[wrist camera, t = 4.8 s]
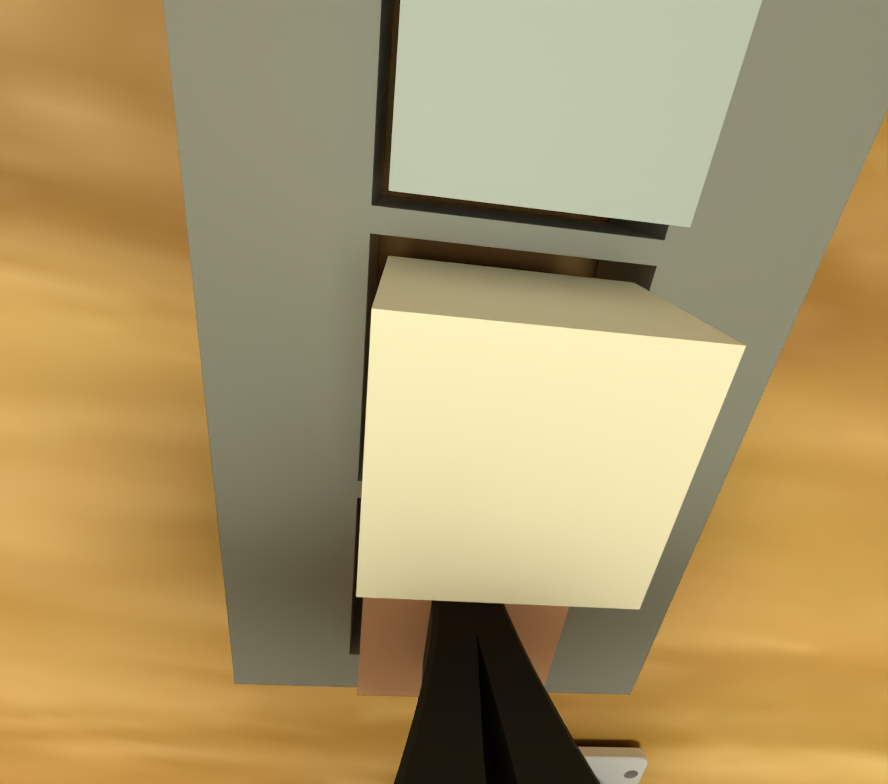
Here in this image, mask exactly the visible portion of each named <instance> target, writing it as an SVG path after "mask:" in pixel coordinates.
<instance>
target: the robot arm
mask: <svg viewBox="0 0 888 784" xmlns="http://www.w3.org/2000/svg"><path fill="white" fill-rule="evenodd" d="M647 765H648V761H647V759H646V756H645V753H644V752H643V750H641V749H639V748H634V747H578V746H577V744H576V743H575V741H574V739H573V738H572V736H571V734H570V732H569V731H568V729H567V727H566V726H565V724H564V722H563V720H562V718H561V717H560V715H559V713H558V711H557V709H556V708H555V706H554V704H553V702H552V700H551V699H550V697H549V695H548V693H547V691H546V690H545V688H544V686H543V684H542V682H541V680H540V678H539V676H538V675H537V673H536V671H535V669H534V667H533V665H532V663H531V661H530V659H529V657H528V655H527V653H526V651H525V649H524V647H523V645H522V643H521V640H520V638H519V636H518V634H517V632H516V630H515V628H514V625H513V623H512V621H511V619H510V616H509V614H508V612H507V609H506V607H505V605H504V603H481V602H459V601H436V600H432V603H431V609H430V616H429V623H428V630H427V637H426V644H425V650H424V657H423V669H422V685H421V689H420V694H419V698H418V702H417V707H416V710H415V714H414V718H413V721H412V725H411V728H410V732H409V735H408V739H407V742H406V746H405V749H404V752H403V756H402V759H401V763H400V766H399V769H398V772H397V776H396V779H395V782H394V784H638V783H639V781H640V779H641V777H642V775H643V773H644V771H645V769H646V767H647Z"/></svg>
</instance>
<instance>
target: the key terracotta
mask: <svg viewBox="0 0 888 784" xmlns="http://www.w3.org/2000/svg"><path fill="white" fill-rule="evenodd" d="M431 603H432V600H413V599H391V598H368V597H363V608H362V624H361V640H360V656H359V672H358V688H357V695H373V696H412V697H419V694H420V689H421V685H422V669H423V657H424V650H425V644H426V637H427V630H428V623H429V616H430V609H431ZM504 605H505V607H506V609H507V612H508V614H509V616H510V619H511V621H512V623H513V625H514V628H515V630H516V632H517V634H518V636H519V638H520V640H521V643H522V645H523V647H524V649H525V651H526V653H527V655H528V657H529V659H530V661H531V663H532V665H533V667H534V669H535V671H536V673H537V675H538V676H539V678H540V680H541V682H542V684H543V686H544V685H545V682H546V679H547V676H548V672H549V669H550V666H551V663H552V660H553V657H554V654H555V650H556V647H557V644H558V641H559V638H560V635H561V631H562V628H563V625H564V622H565V619H566V616H567V613H568V609H569V606H549V605H527V604H504Z"/></svg>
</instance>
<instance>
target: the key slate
mask: <svg viewBox="0 0 888 784" xmlns="http://www.w3.org/2000/svg"><path fill="white" fill-rule="evenodd" d="M761 3H762V0H400V15H399V31H398V47H397V63H396V79H395V95H394V111H393V127H392V143H391V159H390V175H389V191H396V192H404V193H412V194H420V195H429V196H437V197H445V198H453V199H461V200H470V201H478V202H486V203H494V204H502V205H510V206H519V207H527V208H535V209H543V210H551V211H559V212H568V213H576V214H584V215H592V216H600V217H608V218H617V219H625V220H633V221H641V222H649V223H657V224H666V225H674V226H682V227H690V226H691V223H692V220H693V217H694V214H695V211H696V207H697V204H698V201H699V198H700V195H701V192H702V189H703V185H704V182H705V179H706V176H707V173H708V170H709V167H710V163H711V160H712V157H713V154H714V151H715V148H716V145H717V141H718V138H719V135H720V132H721V129H722V126H723V122H724V119H725V116H726V113H727V110H728V107H729V104H730V100H731V97H732V94H733V91H734V88H735V85H736V82H737V78H738V75H739V72H740V69H741V66H742V63H743V60H744V56H745V53H746V50H747V47H748V44H749V41H750V37H751V34H752V31H753V28H754V25H755V22H756V19H757V15H758V12H759V9H760V6H761Z"/></svg>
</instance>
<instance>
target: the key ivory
mask: <svg viewBox="0 0 888 784" xmlns="http://www.w3.org/2000/svg"><path fill="white" fill-rule="evenodd" d="M745 347H746V345H744V344H742V343H740V342H739V341H737V340H735V339H733V338H731V337H730V336H728V335H726V334H724V333H723V332H721V331H719V330H717V329H715V328H714V327H712V326H710V325H708V324H707V323H705V322H703V321H701V320H700V319H698V318H696V317H694V316H692V315H691V314H689V313H687V312H685V311H684V310H682V309H680V308H678V307H676V306H675V305H673V304H671V303H669V302H668V301H666V300H664V299H662V298H660V297H659V296H657V295H655V294H653V293H652V292H650V291H648V290H646V289H645V288H643V287H641V286H639V285H637V284H636V283H634V282H625V281H616V280H606V279H597V278H588V277H579V276H570V275H561V274H552V273H543V272H534V271H525V270H515V269H506V268H497V267H488V266H479V265H470V264H461V263H452V262H443V261H434V260H424V259H415V258H406V257H397V256H388V258H387V261H386V265H385V268H384V271H383V274H382V277H381V280H380V284H379V287H378V290H377V293H376V296H375V299H374V302H373V306H372V310H371V329H370V347H369V366H368V384H367V403H366V422H365V440H364V459H363V477H362V496H361V514H360V533H359V552H358V570H357V589H356V597H368V598H391V599H413V600H436V601H459V602H481V603H504V604H527V605H549V606H572V607H595V608H617V609H640V607H641V604H642V602H643V599H644V597H645V594H646V592H647V589H648V587H649V584H650V582H651V580H652V577H653V575H654V572H655V570H656V567H657V565H658V562H659V560H660V557H661V555H662V552H663V550H664V547H665V545H666V543H667V540H668V538H669V535H670V533H671V530H672V528H673V525H674V523H675V520H676V518H677V515H678V513H679V510H680V508H681V505H682V503H683V501H684V498H685V496H686V493H687V491H688V488H689V486H690V483H691V481H692V478H693V476H694V473H695V471H696V468H697V466H698V463H699V461H700V459H701V456H702V454H703V451H704V449H705V446H706V444H707V441H708V439H709V436H710V434H711V431H712V429H713V426H714V424H715V421H716V419H717V417H718V414H719V412H720V409H721V407H722V404H723V402H724V399H725V397H726V394H727V392H728V389H729V387H730V384H731V382H732V380H733V377H734V375H735V372H736V370H737V367H738V365H739V362H740V360H741V357H742V355H743V352H744V350H745Z"/></svg>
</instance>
